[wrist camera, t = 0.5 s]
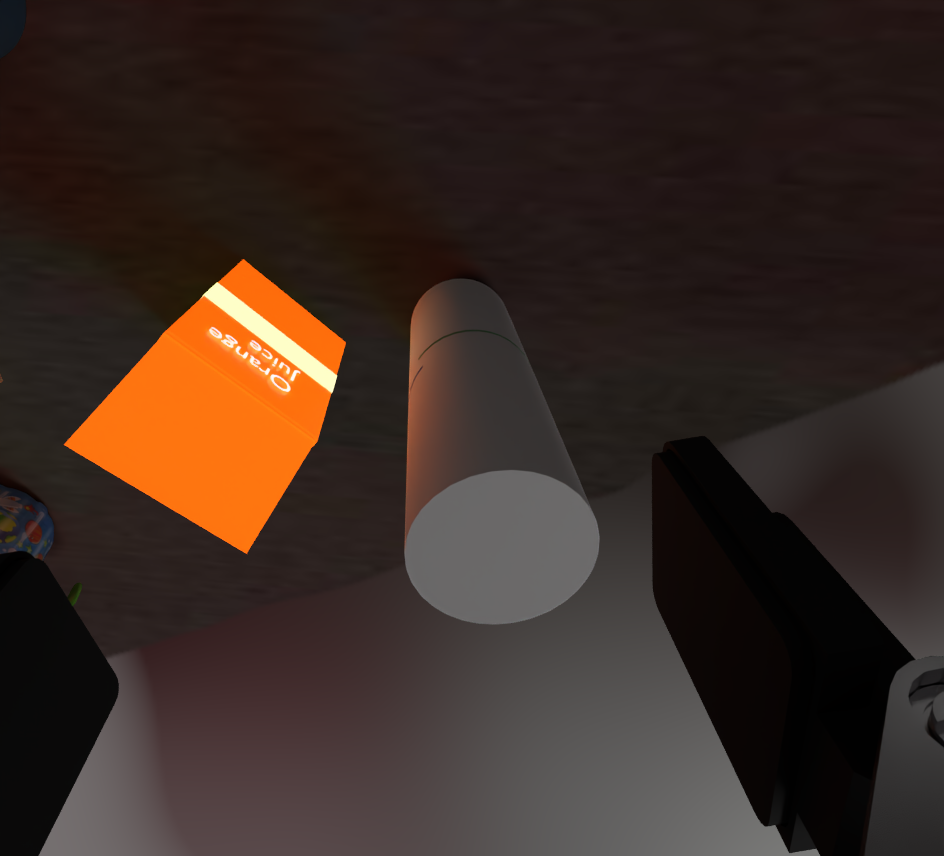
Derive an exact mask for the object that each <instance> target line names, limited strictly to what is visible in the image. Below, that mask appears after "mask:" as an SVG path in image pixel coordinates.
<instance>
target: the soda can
mask: <svg viewBox="0 0 944 856" xmlns="http://www.w3.org/2000/svg"><path fill="white" fill-rule="evenodd" d="M25 22H26V1H25V0H0V58H1V57H3V56H5V55H6V54H8V53H9V52H10V51H11V50H12V49H13V48H14V47H15V46H16V44H17V43H18V41H19V40H20V38H21V36H22V33H23V30H24V27H25Z"/></svg>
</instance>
